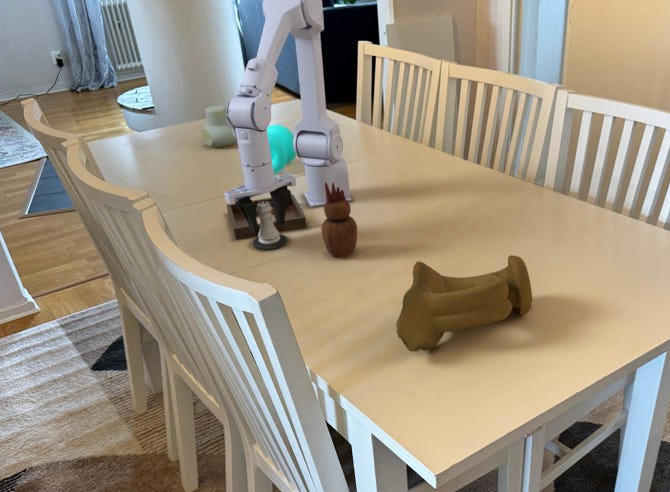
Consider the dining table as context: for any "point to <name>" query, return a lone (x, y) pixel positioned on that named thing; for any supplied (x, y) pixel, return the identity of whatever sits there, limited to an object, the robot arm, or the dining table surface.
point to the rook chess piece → (267, 225)
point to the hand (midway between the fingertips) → (267, 228)
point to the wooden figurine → (338, 224)
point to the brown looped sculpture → (459, 302)
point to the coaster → (270, 247)
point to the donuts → (280, 146)
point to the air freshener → (217, 128)
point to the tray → (292, 221)
